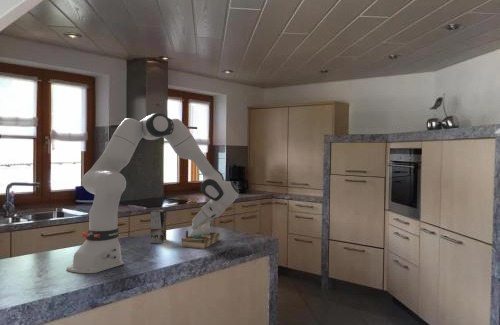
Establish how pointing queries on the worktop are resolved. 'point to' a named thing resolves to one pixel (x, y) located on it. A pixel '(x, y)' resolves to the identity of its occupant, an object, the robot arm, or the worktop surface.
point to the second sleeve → (206, 229)
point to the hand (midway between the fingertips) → (195, 227)
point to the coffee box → (158, 226)
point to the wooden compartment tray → (200, 240)
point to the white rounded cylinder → (197, 232)
